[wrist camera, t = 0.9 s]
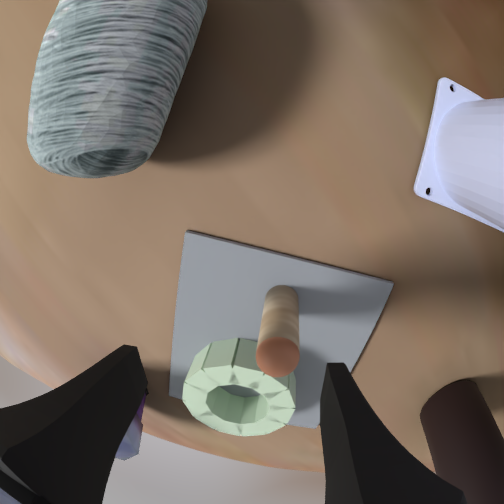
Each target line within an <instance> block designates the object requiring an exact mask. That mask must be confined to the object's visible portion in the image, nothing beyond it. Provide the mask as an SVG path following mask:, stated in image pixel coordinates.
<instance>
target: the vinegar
mask: <svg viewBox="0 0 504 504" xmlns="http://www.w3.org/2000/svg"><path fill="white" fill-rule="evenodd" d="M420 419H421V423H422V426H423V430H424V433H425V436H426V439H427V443H428V446H429V449H430V453H431V456H432V460H433V463H434V467H435V471H436V474H437V476H439V477H440V478H442V479H443V480H445V481H447V482H448V483H450V484H452V485H453V486H455V487H457V488H458V489H460V490H462V491H463V492H464V495H465V497H466V500H467V503H468V504H504V439H503V437H502V435H501V432H500V430H499V428H498V426H497V424H496V422H495V420H494V418H493V416H492V414H491V412H490V410H489V408H488V406H487V404H486V402H485V400H484V398H483V396H482V394H481V392H480V391H479V389H478V387H477V385H476V384H475V383H474V382H472V381H458V382H455V383H452V384H450V385H448V386H446V387H444V388H442V389H441V390H439V391H438V392H436V393H435V394H434V395H433V396H432V397H431V398H430V399H429V400H428V401H427V402H426V404H425V405H424V406H423V408H422V410H421V413H420Z"/></svg>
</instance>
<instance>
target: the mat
mask: <svg viewBox="0 0 504 504" xmlns="http://www.w3.org/2000/svg"><path fill="white" fill-rule="evenodd" d="M277 285H286V286H289V287H291V288H292V289H294V290H295V291H296V293H297V295H298V301H299V344H300V358H299V362H298V365H297V367H296V368H295V369H294V371H293V372H294V375H295V378H296V405H295V411H294V412H293V414H292V416H291V418H290V420H289V422H288V423H287V424H288V425H294V426H300V427H307V428H315V429H316V427H317V426H318V424H319V423H320V397H321V392H322V387H323V382H324V376H325V371H326V365H327V363H339V362H344V363H345V364H346V366H347V368H348V370H349V372H351V370H352V368H353V367H354V365H355V363H356V361H357V359H358V357H359V356H360V354H361V352H362V350H363V348H364V346H365V344H366V342H367V340H368V338H369V336H370V334H371V332H372V330H373V328H374V326H375V324H376V322H377V320H378V318H379V316H380V314H381V312H382V310H383V308H384V305H385V303H386V301H387V299H388V297H389V294H390V292H391V290H392V287H393V285H394V284H393V282H392V281H388V280H384V279H380V278H376V277H373V276H369V275H365V274H361V273H357V272H353V271H349V270H345V269H341V268H337V267H333V266H329V265H325V264H321V263H317V262H313V261H309V260H305V259H301V258H297V257H293V256H289V255H285V254H281V253H277V252H273V251H269V250H265V249H261V248H257V247H253V246H249V245H245V244H241V243H237V242H233V241H229V240H225V239H221V238H217V237H213V236H209V235H205V234H201V233H197V232H193V231H189V230H187V231H186V232H185V238H184V245H183V252H182V259H181V267H180V275H179V283H178V292H177V301H176V311H175V321H174V331H173V343H172V355H171V369H170V385H169V396H172V397H175V398H178V399H181V400H183V399H182V395H183V386H184V381H185V379H186V376H187V374H188V372H189V369H190V367H191V364H192V362H193V360H194V357H195V355H197V354H198V353H199V352H200V351H201V350H203V349H204V348H205V347H206V346H207V345H209V344H210V343H213V342H215V341H221V340H227V339H233V338H238V339H239V341H240V338H243V339H247V340H251V341H256V342H258V338H259V332H260V326H261V320H262V314H263V308H264V302H265V296H266V294H267V292H268V291H269V290H270V289H271V288H272V287H274V286H277ZM219 387H221V388H222V389H224V390H225V391H227V392H228V393H230V394H232V395H236V396H240V397H253V396H259V395H261V394H260V393H258V392H257V391H255V390H254V389H252V388H248V387H244V386H239V385H235V384H233V385H224V386H219Z"/></svg>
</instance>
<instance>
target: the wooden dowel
mask: <svg viewBox="0 0 504 504" xmlns="http://www.w3.org/2000/svg"><path fill="white" fill-rule="evenodd" d="M299 358H300V344H299V301H298V295H297V293H296V291H295V290H294V289H292V288H291V287H289V286H286V285H277V286H274V287H272V288H271V289H270V290H269V291H268V292H267V294H266V296H265V302H264V308H263V314H262V320H261V326H260V332H259V338H258V344H257V350H256V362H257V365H258V367H259V368H260V370H261V371H262V372H264V373H265V374H266V375H268V376H271V377H283V376H286V375H288V374H290V373H291V372H293V371H294V369H295V368H296V367H297V365H298V362H299Z"/></svg>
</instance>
